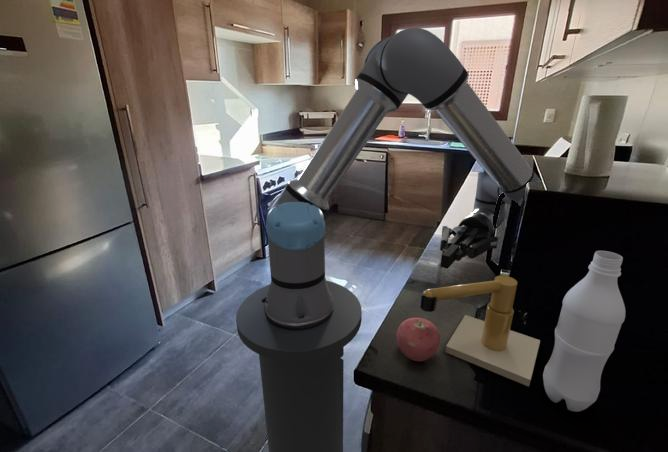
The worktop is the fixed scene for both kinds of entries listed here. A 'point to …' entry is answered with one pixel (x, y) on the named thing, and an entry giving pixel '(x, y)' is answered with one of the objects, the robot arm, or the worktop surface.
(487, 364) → the tap stand
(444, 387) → the worktop surface
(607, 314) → the water bottle
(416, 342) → the apple
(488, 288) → the nozzle
